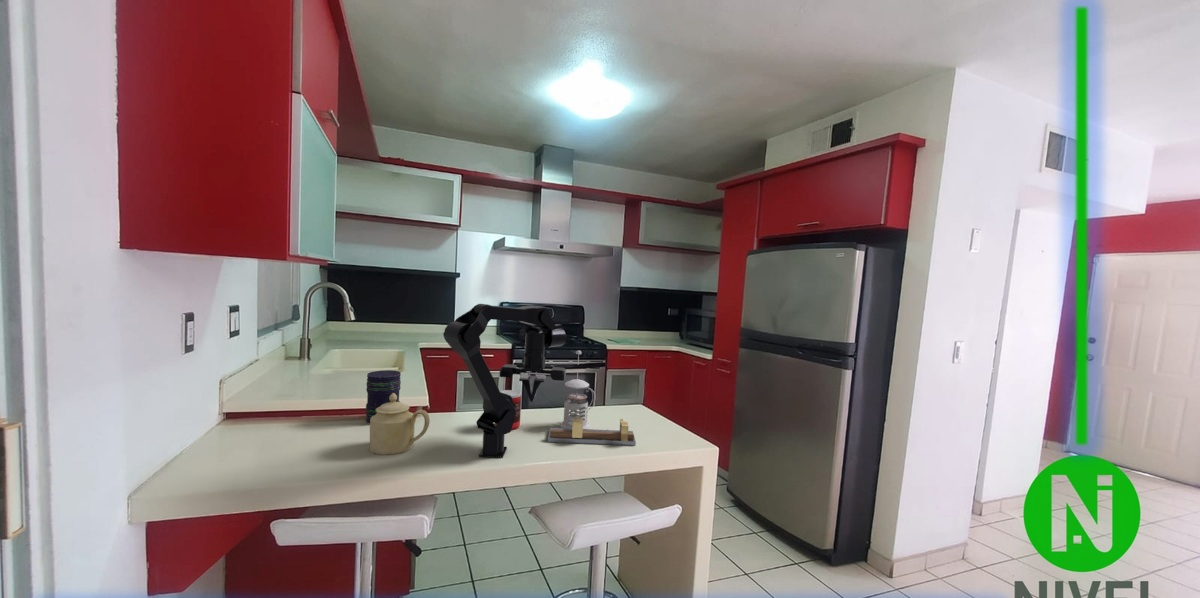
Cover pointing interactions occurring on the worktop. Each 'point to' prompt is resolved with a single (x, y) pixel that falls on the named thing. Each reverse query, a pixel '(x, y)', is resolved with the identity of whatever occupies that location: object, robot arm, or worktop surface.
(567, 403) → the french press
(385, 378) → the storage jar
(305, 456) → the worktop surface
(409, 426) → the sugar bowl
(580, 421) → the slider
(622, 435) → the beam
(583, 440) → the plate
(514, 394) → the canned food
